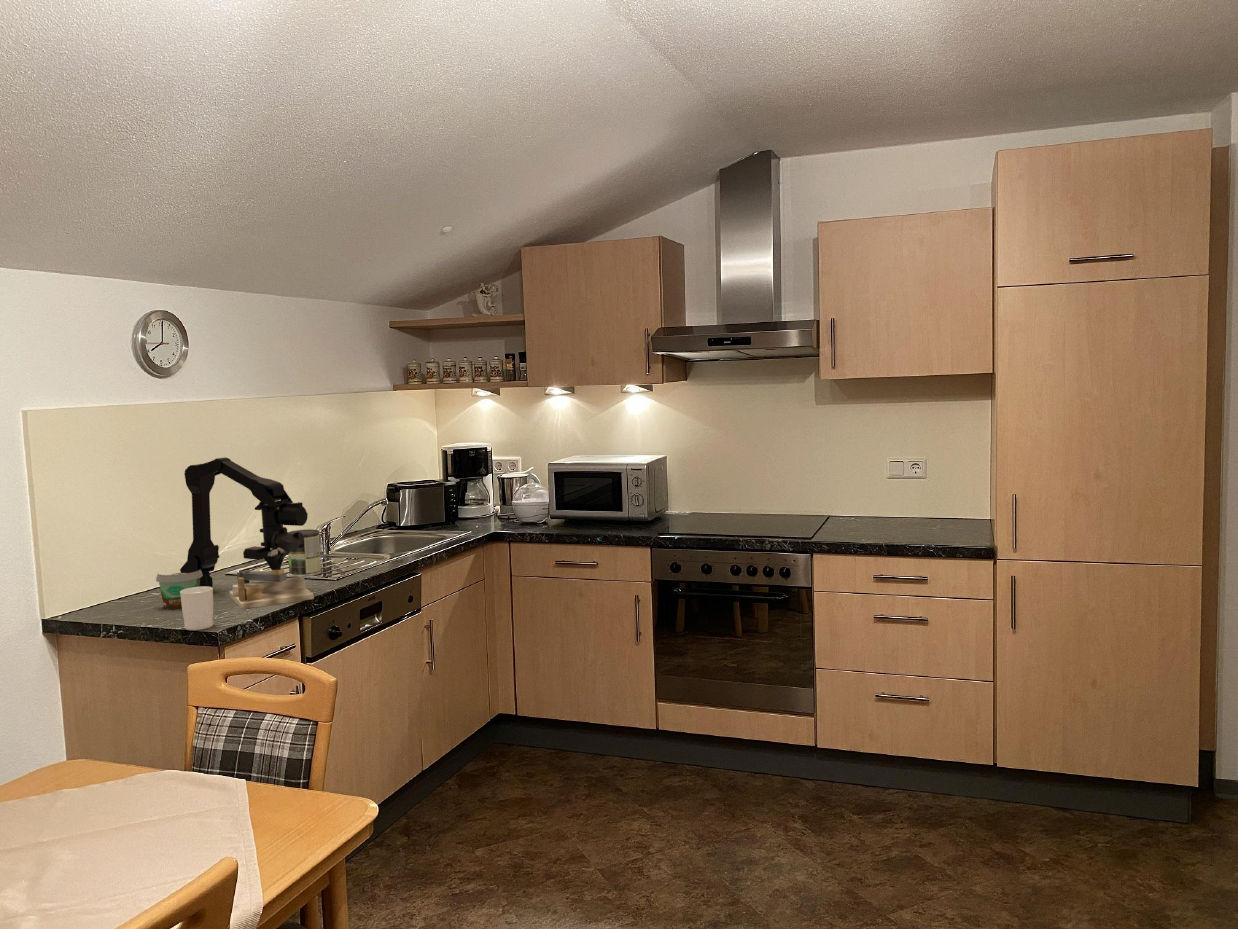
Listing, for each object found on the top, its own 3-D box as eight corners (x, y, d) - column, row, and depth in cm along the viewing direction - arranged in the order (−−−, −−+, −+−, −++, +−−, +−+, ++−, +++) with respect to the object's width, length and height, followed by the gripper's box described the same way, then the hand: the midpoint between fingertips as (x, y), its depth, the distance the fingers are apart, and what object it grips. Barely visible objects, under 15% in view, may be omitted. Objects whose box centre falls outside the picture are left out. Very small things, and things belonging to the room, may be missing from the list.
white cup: (197, 622, 255) (194, 586, 254) (222, 624, 253) (219, 587, 252) (175, 630, 248) (173, 592, 247) (201, 631, 245) (198, 593, 244)
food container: (157, 612, 268) (154, 577, 267) (158, 607, 274) (155, 573, 273) (204, 606, 273) (202, 572, 272) (204, 602, 279) (202, 568, 278)
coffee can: (289, 578, 310) (287, 535, 309) (288, 572, 320) (286, 531, 318) (322, 575, 314) (320, 532, 313) (320, 569, 324) (318, 528, 322)
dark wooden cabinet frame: (236, 579, 283) (236, 568, 283) (244, 577, 286) (243, 566, 286) (279, 582, 278) (278, 570, 277) (287, 580, 281) (286, 568, 280)
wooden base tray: (241, 609, 269) (239, 581, 268) (229, 596, 286) (227, 570, 285) (313, 599, 279) (312, 572, 278) (297, 587, 296) (296, 561, 295)
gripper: (268, 532, 269) (272, 586, 271) (316, 520, 286) (319, 571, 288) (240, 530, 274) (244, 583, 276) (288, 518, 290) (292, 568, 293)
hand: (276, 576), depth 283 cm, fingers closed
